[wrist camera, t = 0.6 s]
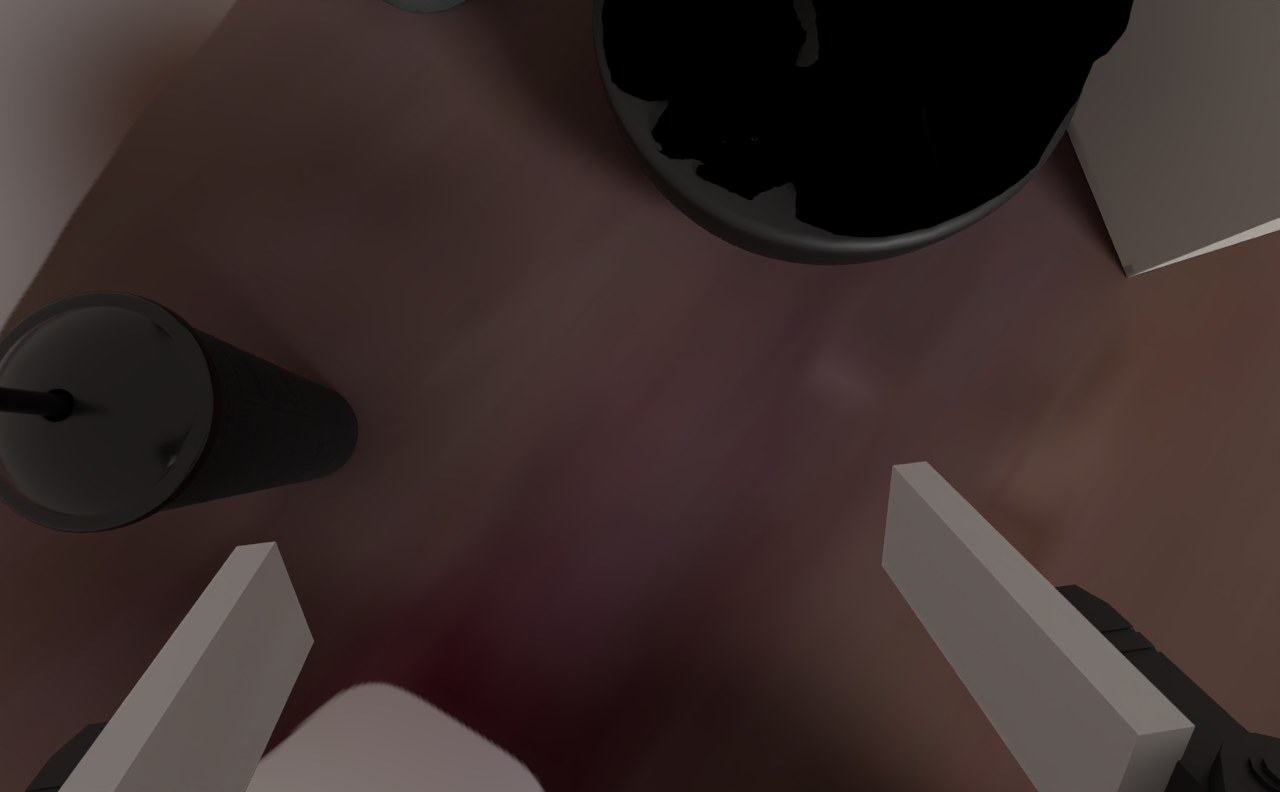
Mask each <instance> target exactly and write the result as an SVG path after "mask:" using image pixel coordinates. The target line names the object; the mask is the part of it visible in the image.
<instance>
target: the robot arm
mask: <svg viewBox="0 0 1280 792" xmlns="http://www.w3.org/2000/svg"><path fill="white" fill-rule="evenodd" d="M882 566H883V568H884V569H885V571H886V572H887V573H888V575H889V576H890V578H891V579H892V581H893V582H894V584H895V585H896V586H897V588H898V589H899V591H900V592H901V594H902V595H903V597H904V598H905V599H906V601H907V602H908V604H909V605H910V607H911V608H912V610H913V611H914V612H915V614H916V615H917V617H918V618H919V620H920V621H921V623H922V624H923V625H924V627H925V628H926V630H927V631H928V633H929V634H930V636H931V637H932V638H933V640H934V641H935V643H936V644H937V646H938V647H939V649H940V650H941V651H942V653H943V654H944V656H945V657H946V659H947V660H948V662H949V663H950V664H951V666H952V667H953V669H954V670H955V672H956V673H957V675H958V676H959V677H960V679H961V680H962V682H963V683H964V685H965V686H966V688H967V689H968V690H969V692H970V693H971V695H972V696H973V698H974V699H975V701H976V702H977V703H978V705H979V706H980V708H981V709H982V711H983V712H984V714H985V715H986V716H987V718H988V719H989V721H990V722H991V724H992V725H993V727H994V728H995V729H996V731H997V732H998V734H999V735H1000V737H1001V738H1002V740H1003V741H1004V742H1005V744H1006V745H1007V747H1008V748H1009V750H1010V751H1011V753H1012V754H1013V755H1014V757H1015V758H1016V760H1017V761H1018V763H1019V764H1020V766H1021V767H1022V768H1023V770H1024V771H1025V773H1026V774H1027V776H1028V777H1029V779H1030V780H1031V781H1032V783H1033V784H1034V786H1035V787H1036V789H1037V790H1038V792H1280V739H1279V738H1275V737H1271V736H1266V735H1262V734H1258V733H1250V732H1249V731H1247V730H1246V729H1245V728H1244V727H1242V726H1241V725H1240V724H1239V723H1238V722H1237V721H1236V720H1235V719H1233V718H1232V717H1231V716H1230V715H1229V714H1228V713H1227V712H1226V711H1225V710H1224V709H1223V708H1221V707H1220V706H1219V705H1218V704H1217V703H1216V702H1215V701H1214V700H1213V699H1212V698H1211V697H1209V696H1208V695H1207V694H1206V693H1205V692H1204V691H1203V690H1202V689H1201V688H1200V687H1199V686H1197V685H1196V684H1195V683H1194V682H1193V681H1192V680H1191V679H1190V678H1189V677H1188V676H1187V675H1185V674H1184V673H1183V672H1182V671H1181V670H1180V669H1179V668H1178V667H1177V666H1176V665H1175V664H1173V663H1172V662H1171V661H1170V660H1169V659H1168V658H1167V657H1166V656H1165V655H1164V654H1163V653H1161V652H1157V651H1156V650H1155V646H1154V645H1153V644H1152V643H1151V642H1149V641H1148V640H1147V639H1146V638H1145V637H1144V636H1143V635H1142V634H1141V633H1140V632H1135V631H1134V627H1133V626H1132V625H1131V624H1130V623H1129V622H1128V621H1127V620H1125V619H1124V618H1123V617H1122V616H1121V615H1120V614H1119V613H1118V612H1117V611H1116V610H1115V609H1114V608H1112V607H1111V606H1110V605H1109V604H1108V603H1106V602H1105V601H1103V600H1101V599H1099V598H1098V597H1096V596H1094V595H1092V594H1091V593H1089V592H1087V591H1085V590H1084V589H1082V588H1080V587H1078V586H1077V585H1069V586H1061V587H1053V586H1052V585H1051V584H1050V583H1049V582H1048V581H1047V580H1046V579H1045V578H1044V577H1043V576H1042V575H1041V574H1040V573H1039V572H1038V571H1037V570H1036V569H1035V568H1034V567H1033V566H1032V565H1031V564H1030V563H1029V562H1028V561H1027V560H1026V559H1025V558H1024V557H1023V556H1022V555H1021V554H1020V553H1019V552H1018V551H1017V550H1016V549H1015V548H1014V547H1013V546H1012V545H1011V544H1010V543H1009V542H1008V541H1007V540H1006V539H1005V538H1004V537H1003V536H1002V535H1001V534H1000V533H999V532H997V531H996V530H995V529H994V528H993V527H992V526H991V525H990V524H989V523H988V522H987V521H986V520H985V519H984V518H983V517H982V516H981V515H980V514H979V513H978V512H977V511H976V510H975V509H974V508H973V507H972V506H971V505H970V504H969V503H968V502H967V501H966V500H965V499H964V498H963V497H962V496H961V495H960V494H959V493H958V492H957V491H956V490H955V489H954V488H953V487H952V486H951V485H950V484H949V483H948V482H947V481H946V480H945V479H944V478H943V477H942V476H941V475H940V474H939V473H938V472H937V471H936V470H935V469H934V468H932V467H931V466H930V465H929V464H928V463H927V462H926V461H925V462H917V463H909V464H901V465H893V468H892V477H891V486H890V495H889V504H888V513H887V522H886V531H885V540H884V548H883V557H882ZM313 642H314V640H313V638H312V635H311V633H310V630H309V627H308V625H307V622H306V620H305V617H304V614H303V612H302V609H301V607H300V604H299V601H298V599H297V596H296V594H295V591H294V588H293V586H292V583H291V581H290V578H289V575H288V573H287V570H286V568H285V565H284V562H283V560H282V557H281V555H280V552H279V549H278V547H277V544H276V542H268V543H260V544H252V545H243V546H237V547H236V548H235V549H234V551H233V552H232V554H231V555H230V556H229V558H228V559H227V560H226V562H225V563H224V564H223V566H222V567H221V569H220V570H219V571H218V573H217V574H216V575H215V577H214V578H213V580H212V581H211V582H210V584H209V585H208V586H207V588H206V589H205V591H204V592H203V593H202V595H201V596H200V597H199V599H198V600H197V602H196V603H195V604H194V606H193V607H192V608H191V610H190V611H189V613H188V614H187V615H186V617H185V618H184V619H183V621H182V622H181V624H180V625H179V626H178V628H177V629H176V630H175V632H174V633H173V635H172V636H171V637H170V639H169V640H168V641H167V643H166V644H165V646H164V647H163V648H162V650H161V651H160V652H159V654H158V655H157V657H156V658H155V659H154V661H153V662H152V663H151V665H150V666H149V668H148V669H147V670H146V672H145V673H144V674H143V676H142V677H141V678H140V680H139V681H138V683H137V684H136V685H135V687H134V688H133V689H132V691H131V692H130V694H129V695H128V696H127V698H126V699H125V700H124V702H123V703H122V705H121V706H120V707H119V709H118V710H117V711H116V713H115V714H114V716H113V717H112V718H111V720H110V721H109V722H103V723H96V724H89V725H88V726H86V727H85V728H84V729H83V730H82V731H81V732H79V733H78V734H77V735H76V736H75V737H74V738H72V739H71V740H70V741H69V742H68V743H67V744H66V745H64V746H63V747H62V748H61V749H60V750H59V751H57V752H56V753H55V754H54V755H53V756H52V757H51V758H50V759H49V761H48V762H47V763H46V765H45V766H44V767H43V768H42V770H41V771H40V772H39V774H38V775H37V776H36V777H35V779H34V780H33V781H32V783H31V784H30V785H29V786H28V788H27V789H26V790H25V792H245V791H246V789H247V787H248V785H249V782H250V780H251V778H252V776H253V774H254V771H255V769H256V767H257V765H258V763H259V760H260V758H261V756H262V754H263V752H264V750H265V747H266V745H267V743H268V741H269V739H270V736H271V734H272V732H273V730H274V728H275V725H276V723H277V721H278V719H279V717H280V715H281V712H282V710H283V708H284V706H285V704H286V701H287V699H288V697H289V695H290V693H291V690H292V688H293V686H294V684H295V682H296V679H297V677H298V675H299V673H300V671H301V669H302V666H303V664H304V662H305V660H306V658H307V655H308V653H309V651H310V649H311V647H312V644H313Z"/></svg>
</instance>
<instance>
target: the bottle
mask: <svg viewBox="0 0 1280 792" xmlns="http://www.w3.org/2000/svg"><path fill="white" fill-rule="evenodd" d="M383 1H385V2H387V3H389V4H391V5H393V6H396V7H398V8H400V9H402V10H406V11H412V12H419V13H430V12H437V11H445V10H447V9H450V8H452V7H454V6H456V5H458V4H460V3H463V2H465V1H466V0H383Z"/></svg>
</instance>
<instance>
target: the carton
mask: <svg viewBox="0 0 1280 792" xmlns="http://www.w3.org/2000/svg"><path fill="white" fill-rule="evenodd" d="M1066 130H1067V132H1068V135H1069V137H1070V140H1071V142H1072V144H1073V147H1074V149H1075V152H1076V154H1077V157H1078V159H1079V162H1080V164H1081V166H1082V169H1083V171H1084V174H1085V176H1086V179H1087V181H1088V183H1089V186H1090V188H1091V191H1092V193H1093V196H1094V198H1095V200H1096V203H1097V205H1098V208H1099V210H1100V213H1101V215H1102V218H1103V220H1104V222H1105V225H1106V227H1107V230H1108V232H1109V235H1110V237H1111V239H1112V242H1113V244H1114V247H1115V249H1116V252H1117V254H1118V257H1119V259H1120V261H1121V264H1122V266H1123V269H1124V271H1125V274H1126V276H1127V278H1128V277H1131V276H1134V275H1137V274H1140V273H1144V272H1147V271H1150V270H1153V269H1156V268H1160V267H1163V266H1166V265H1169V264H1172V263H1176V262H1179V261H1182V260H1185V259H1188V258H1192V257H1195V256H1198V255H1201V254H1204V253H1208V252H1211V251H1214V250H1217V249H1220V248H1224V247H1227V246H1230V245H1233V244H1236V243H1239V242H1243V241H1246V240H1249V239H1252V238H1255V237H1259V236H1262V235H1265V234H1268V233H1271V232H1275V231H1278V230H1280V0H1134V2H1133V5H1132V9H1131V12H1130V19H1129V22H1128V26H1127V28H1126V30H1125V32H1124V33H1123V35H1122V36H1121V37H1120V38H1119V40H1118V41H1117V42H1116V43H1115V44H1114V45H1113V46H1112V48H1111V49H1110V51H1109V52H1108V53H1107V54H1106V55H1103V56H1102V57H1100V58H1099V59H1098V60H1096V61H1095V62H1094V63H1093V66H1092V68H1091V71H1090V73H1089V75H1088V77H1087V79H1086V82H1085V84H1084V86H1083V90H1082V94H1081V97H1080V99H1079V102H1078V104H1077V107H1076V110H1075V112H1074V115H1073V117H1072V119H1071V121H1070V123H1069V125H1068V127H1067V129H1066Z"/></svg>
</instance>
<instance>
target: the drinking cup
mask: <svg viewBox="0 0 1280 792" xmlns="http://www.w3.org/2000/svg"><path fill="white" fill-rule="evenodd" d="M357 435H358V426H357V420H356V417H355V414H354V411H353V409H352V408H351V406H350V405H349V403H348V402H347V401H346V400H345V399H344V398H343V397H342V396H340V395H339V394H337V393H336V392H334V391H332V390H329V389H327V388H325V387H323V386H321V385H318V384H316V383H314V382H312V381H310V380H307V379H305V378H303V377H301V376H299V375H296V374H294V373H292V372H290V371H288V370H285V369H283V368H281V367H279V366H277V365H274V364H272V363H270V362H268V361H266V360H263V359H261V358H259V357H257V356H255V355H252V354H250V353H248V352H246V351H244V350H241V349H239V348H237V347H235V346H233V345H230V344H228V343H226V342H224V341H222V340H219V339H217V338H215V337H213V336H211V335H208V334H206V333H204V332H202V331H200V330H197V329H195V328H193V327H192V326H191V325H190V324H189V323H188V322H187V321H185V320H184V319H183V318H182V317H180V316H179V315H178V314H177V313H175V312H173V311H172V310H170V309H169V308H167V307H165V306H163V305H161V304H159V303H157V302H154V301H152V300H149V299H146V298H143V297H140V296H137V295H132V294H128V293H122V292H114V291H95V292H87V293H80V294H76V295H71V296H68V297H64V298H61V299H58V300H56V301H53V302H51V303H49V304H47V305H45V306H43V307H41V308H39V309H37V310H35V311H34V312H32V313H31V314H29V315H28V316H26V317H25V318H24V319H22V320H21V321H20V322H19V323H17V324H16V325H15V326H14V327H13V328H12V329H11V330H10V331H9V332H8V333H7V334H6V335H5V336H4V337H3V338H2V339H1V340H0V500H1V501H2V502H3V503H4V504H5V505H7V506H8V507H9V508H10V509H11V510H13V511H14V512H16V513H17V514H19V515H20V516H22V517H23V518H26V519H28V520H29V521H31V522H34V523H36V524H39V525H41V526H44V527H47V528H51V529H54V530H58V531H65V532H76V533H87V532H100V531H107V530H113V529H117V528H121V527H125V526H128V525H131V524H134V523H137V522H139V521H141V520H144V519H146V518H148V517H150V516H152V515H153V514H155V513H157V512H159V511H164V510H169V509H174V508H178V507H183V506H188V505H193V504H197V503H202V502H207V501H212V500H217V499H221V498H226V497H231V496H236V495H240V494H245V493H250V492H255V491H259V490H264V489H269V488H274V487H278V486H283V485H288V484H293V483H297V482H302V481H307V480H312V479H316V478H321V477H324V476H327V475H329V474H331V473H333V472H335V471H336V470H338V469H339V468H340V467H341V466H342V465H343V464H344V463H345V462H346V461H347V460H348V458H349V457H350V455H351V454H352V452H353V450H354V447H355V445H356V441H357Z"/></svg>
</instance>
